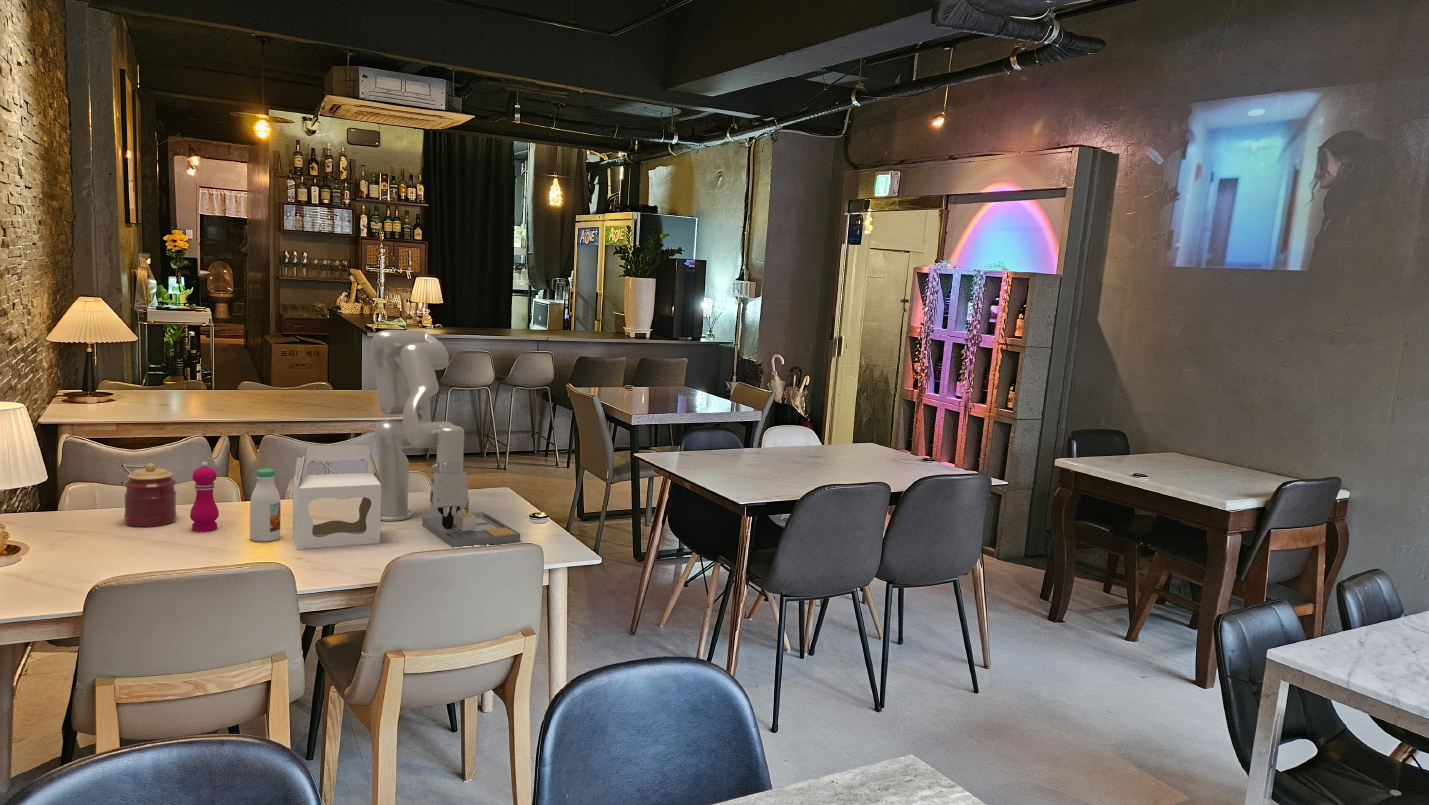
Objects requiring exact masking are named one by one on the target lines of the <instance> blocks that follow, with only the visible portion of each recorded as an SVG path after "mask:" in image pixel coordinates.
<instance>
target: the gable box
mask: <svg viewBox="0 0 1429 805" xmlns="http://www.w3.org/2000/svg"><path fill="white" fill-rule="evenodd" d="M337 461H341V462H342V461H365V462H366V463H367V464H366V467H367V469H366V470H367V472H354V473H353V472H351V473H349V472H348V473H328V474H326V473H324V474H322V473H321V474H308V465H309V464H310V463H315V462H337ZM295 462H296V463H295V471H294V472H295V473H294V476H293V482H292V483H293V490H292V492H293V494H292V495H293V497H292V498H293V499H292V538H293V542H294V544H295V547H296V549H297V550H300V551H301V550H308V549H309V550H310V549H321V548H324V549H325V548H336V547H337V548H338V547H351V546H359V545H360V546H361V545H362V546H363V545H376V544H381V521H382V520H381V488H382V484H381V482H380V479H379V476H378V473H379V468H378V455H377V454H373V455H372V453H370V447H369V445H368V444H364V443H362V444H361V443H360V444H324V445H323V444H319V445H316V444H315V445H313V444H312V445H308V446H307V447H306V452H305V455H303V456H302V457H301V456H297V457H296V461H295ZM355 498H362V499H361V502H360V504H359V507H358V513H359V518H358V520H357V521H355V522H354V521H353V522H349V521H343V520H329V521H325V522H321V523H317V524H314V521H313V519H312V518H313V517H312V516H311V513H310V507H309V506H310V504H311V503H312V502H313V501H316V500H319V499H335V500H336V499H337V500H350V499H355Z"/></svg>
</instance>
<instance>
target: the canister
mask: <svg viewBox="0 0 1429 805" xmlns="http://www.w3.org/2000/svg"><path fill="white" fill-rule="evenodd" d="M173 475H174V473H173V472H172V471H169V470H168V469H166V468H164V467H163V468H162V467H160V468H159V467H157V466H156V464H155V463H152V462H148V463H147V464H145V467H144V468H140V469H139V468H138V469H135V470H133V471H132V472H130V473H129V474H127V478H128V480H126V481H125V482H124V483H123V485H124V487H125V488H126V489H125V493H124V496H123V497H124V515H123V516H124V518H123V519H124V521H125V524H126V525H127V526H131V527H139V528H147V527H148V528H149V527H150V528H151V527H159V526H165V525H166V526H167V525H168V524H172V523H174V522H175V521H176V518H177V498H176V497H177V491H176V490H175V489H176V488H175V485H176V484H177V480H176V479H174V478H173Z"/></svg>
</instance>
